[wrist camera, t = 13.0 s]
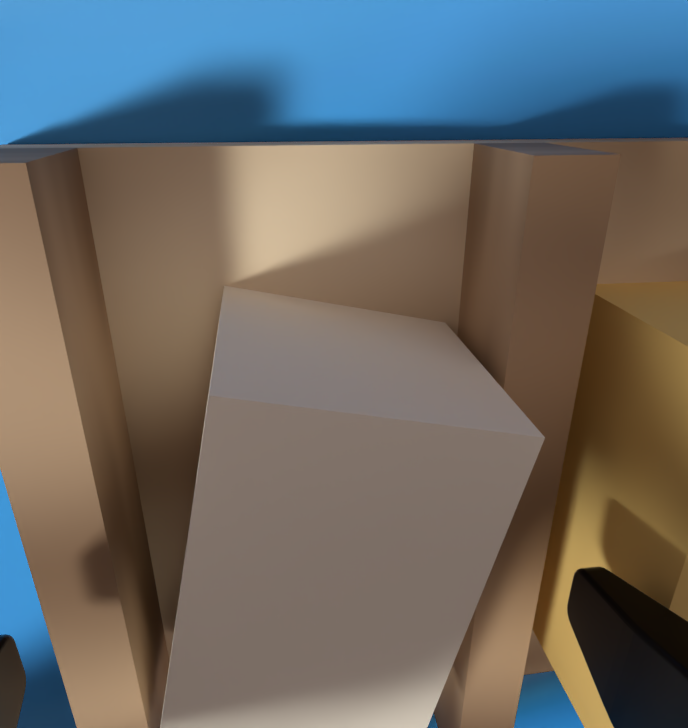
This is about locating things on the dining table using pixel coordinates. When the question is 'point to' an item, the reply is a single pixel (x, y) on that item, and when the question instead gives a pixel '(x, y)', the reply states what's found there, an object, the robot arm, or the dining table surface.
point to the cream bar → (338, 517)
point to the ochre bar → (621, 471)
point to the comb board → (301, 280)
